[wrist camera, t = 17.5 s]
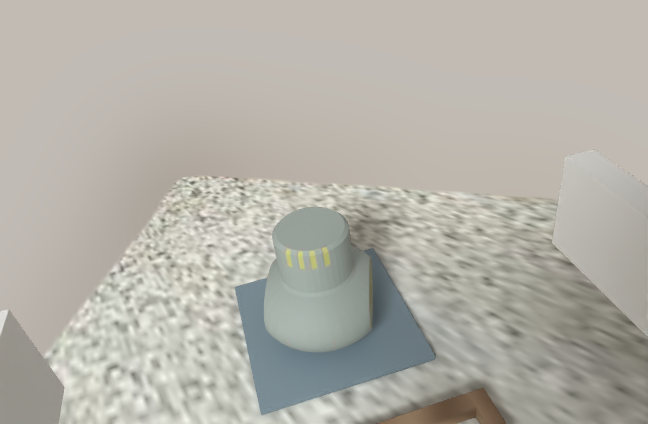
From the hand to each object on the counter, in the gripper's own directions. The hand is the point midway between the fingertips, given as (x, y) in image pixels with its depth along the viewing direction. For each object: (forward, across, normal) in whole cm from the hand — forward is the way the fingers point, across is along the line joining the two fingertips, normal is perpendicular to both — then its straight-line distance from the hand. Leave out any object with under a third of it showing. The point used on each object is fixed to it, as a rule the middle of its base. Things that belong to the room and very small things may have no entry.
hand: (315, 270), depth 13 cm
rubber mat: (+22, +3, -26) cm, 34 cm away
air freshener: (+22, +3, -26) cm, 34 cm away
